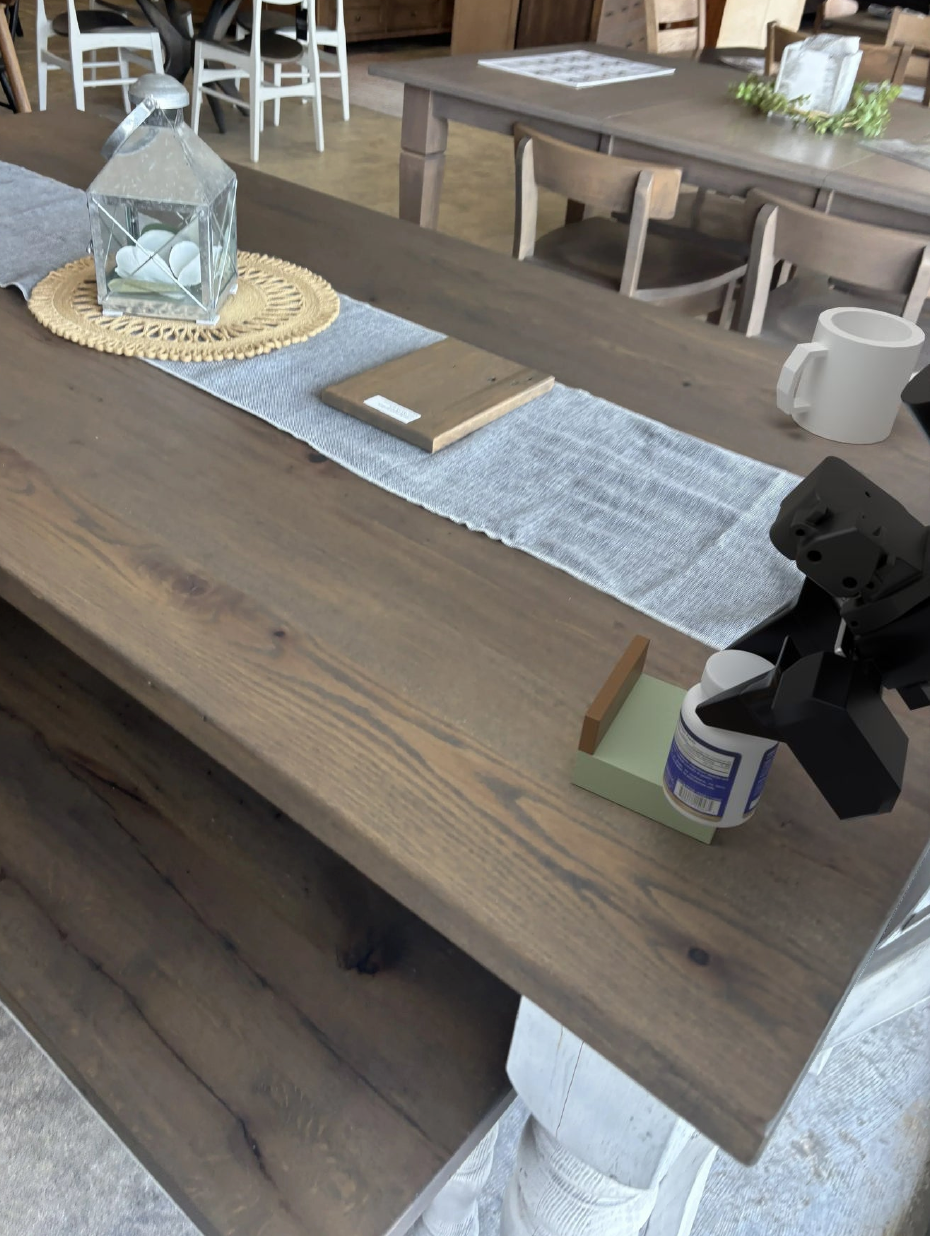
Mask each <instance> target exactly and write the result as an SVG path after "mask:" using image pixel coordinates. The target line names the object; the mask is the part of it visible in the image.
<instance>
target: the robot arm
mask: <svg viewBox="0 0 930 1236" xmlns="http://www.w3.org/2000/svg"><path fill="white" fill-rule="evenodd" d="M901 400H902V402H901V403H902V404H903V405H904V406H905V408H906V410H907V411H908V413H909V414H910V416H911V417H912V419H913V422H914V423H915V424H916V425H917V427H918V429H919V430H920V432H921V434H922V435H923V437H924V438H925V439H926V441H927V443H928V444H929V446H930V363H928V364H927V365H926V366H925V367H924V368H922V369H921V370H920V371H918V372H917V373H916V374H915V375H914V376H913V377H911V378H910V380H909V383H908V384H907V385H906V386H905V388H904V389H903V391H902V393H901ZM779 507H780V508H779V510H778V512H777V515H776V516H775V520H774V521H773V523H772V524H771V526H770V528H769V531H768V535H769V540H770V542H771V544H772V545H773V547H774V548H775V549H776V551H778V552H779V553H780V554H781V555H782V556H783V557H785V559H787V560H789V561H795V566H796V569H797V570H798V571H799V572H801V573H802V574H803V575H805V577H804V580H803V582H802V586H801V588H800V590H799V591H798V592H797V593H796V594H795V595H794V596H792V597H791V598H790V599H789V600H788V601H786V602H785V603H784V604H783V605H781V606H780V607H779V608H778V609H777V610H775V611H773V612H772V613H771V614H770V615H768V616H767V617H765V618H764V619H762V620H761V621H760V622H759V623H757V624H756V625H755V626H753V627H752V628H750V629H749V630H748V631H746V632H745V633H744V634H742V635H741V636H739V637H738V638H737V639H736V640H734V641H733V642H731V643H730V644H729V645H728V646H726V647H725V648H723V649H722V650H721V651H724V650H740V651H745V652H749V653H753V654H755V655H758V656H760V657H762V658H764V659H766V660H767V661H769V662H770V663H772V664H773V665H774V666H775V667H774V668H773V669H771V670H769V671H767V672H765V673H763V674H760V675H758V676H756V677H754V678H752V679H749V680H747V681H745V682H743V683H741V684H738V685H736V686H734V687H732V688H730V689H728V690H725V691H723V692H721V693H719V694H717V695H715V696H713V697H711V698H709V699H707V700H706V701H704V702H702V703H700V704H698V705H697V706H696V709H695V713H696V715H697V716H698V717H699V719H700V720H701V721H702V723H703V724H704V725H706V726H709V727H714V728H719V729H723V730H728V731H733V732H738V733H742V734H747V735H752V736H756V737H761V738H766V739H770V740H774V741H779V743H782V744H783V743H784V744H786V745H787V747H788V748H789V750H790V751H791V753H792V754H793V755H794V757H795V759H796V760H797V761H798V763H799V764H800V765H801V767H802V768H803V770H804V771H805V773H806V775H808V777H809V779H810V780H811V781H812V783H813V784H814V785H815V787H816V788H817V789H818V791H819V792H820V794H821V795H822V796H823V798H824V799H825V801H826V802H827V804H828V805H829V806H830V808H831V809H832V811H833V812H834V813H835V815H836V817H837V818H838V819H839V820H840V821H845V822H846V821H847V822H849V821H850V822H851V821H854V820H859V819H864V818H869V817H875V816H879V815H885V814H889V813H892V812H893V809H894V807H895V805H896V803H897V801H898V799H899V797H900V795H901V793H902V790H903V782H904V775H905V769H906V762H907V755H908V748H909V743H910V742H909V741H910V738H909V737H908V735H907V734H906V732H905V731H904V729H903V727H902V726H901V725H900V723H899V722H898V720H897V719H896V717H895V716H894V714H893V713H892V711H891V709H889V707H888V706H887V704H886V703H885V701H884V700H883V699H884V692H885V688H886V690H888V691H890V690H894V689H895V690H896V691H897V693H898V695H899V696H900V698H901V699H902V701H903V702H904V704H905V706H906V707H907V708H908V710H909V711H914V710H918V709H922V708H926V707H929V706H930V524H929V525H924V524H923V523H922V522H921V521H919V520H918V519H917V518H916V517H915V516H913V515H912V514H911V513H910V512H909V511H908V509H907V508H906V507H905V506H904V505H903V504H902V503H901V502H900V501H899V500H897V499H896V498H895V497H893V496H892V495H891V494H889V493H888V492H887V491H886V490H885V489H883V488H882V487H880V486H878V484H876V483H875V482H874V481H872V480H871V479H869V478H868V477H867V476H866V475H865V474H863V473H861V472H860V471H859V470H857V469H856V468H855V467H853V466H852V465H851V464H849V463H848V462H847V461H845V460H844V459H842V458H840V457H838V456H834V455H828V456H826V457H825V458H824V459H823V460H822V461H821V462H820V463H819V464H818V465H817V466H816V467H814V469H813V470H811V471H810V473H808V474H807V475H806V477H805V478H803V480H802V481H800V482H799V483H798V484H797V486H795V487H794V488H793V489H792V490H791V491H790V492H789V493H788V494H787V495H786V496H785V497H784V498H783V499H782V500H781V502H780V503H779Z"/></svg>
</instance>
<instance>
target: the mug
mask: <svg viewBox="0 0 930 1236" xmlns="http://www.w3.org/2000/svg"><path fill="white" fill-rule="evenodd" d="M925 339H926V334H925V333H924V331H923V330H922V328H921V327H920V326H918V325H916V324H915V323H914V322H912V321H910V320H908V319H907V318H906V319H905V318H903V317H901V316H900V315H899V316H898V315H896V314H893V313H889V312H886V311H881V310H876V309H873V308H872V309H871V308H864V307H856V306H855V307H854V306H843V307H842V306H840V307H838V306H837V307H833V308H829V309H826V310H824V311H822V312H820V314H819V316H818V319H817V322H816V326H815V329H814V332H813V335H812V339H811V342H805V343H797V345H796V346H795V347H794V349H793V350H792V352H791V353H790V355H789V356H788V358H787V359H786V360H785V362H784V363H783V365H782V367H781V371H780V374H779V377H778V381H777V383H776V407H777V408H778V409H779V410H781V411H782V412H783V413H785V414H786V415H791V418H792V420H793V421H794V422H795V423H796V424H797V425H798V426H799V427H800V428H802V429H804V430H805V431H807V432H809V433H810V434H813V435H815V436H818V437H821V438H823V439H826V440H830V441H834V442H838V443H842V444H851V445H873V444H876V443H880V442H883V441H884V440H887V438H888V437H889V436H890V434H891V432H892V429H893V426H894V424H895V421H896V419H897V415H898V414H899V413H898V412H899V410H900V407H901V404H902V403H903V402H902V400H901V393H902V391H903V389H904V388H905V386H906V385H907V384H908V383H909V381H910V380H911V379H912V375H913V373H914V370H915V366H916V364H917V361H918V359H919V356H920V353H921V350H922V348H923V345H924V343H925ZM800 375H801V376H800ZM798 382H799V384H798ZM797 385H798V386H797ZM795 391H796V393H795Z"/></svg>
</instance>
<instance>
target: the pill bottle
mask: <svg viewBox="0 0 930 1236" xmlns="http://www.w3.org/2000/svg"><path fill="white" fill-rule="evenodd" d="M723 650H724V649H723ZM774 667H775V666H774V665H773V664H772V663H770V662H769V661H767V660H766V659H764V658H762V657H760V656H758V655H755V654H753V653H749V652H745V651H740V650H724V651H722V650H721V651H717V652H715V653H713V654H712V655H710V656H709V657H708V659H707V661H706V663H705V666H704V669H703V672H702V675H701V677H700V678H701V679H700V682H698V683H696V684H695V685H693V686H692V687H690V689H689V690H687V691H688V692H687V694H686V696H685V698H684V700H683V703H682V706H681V710H680V713H679V717H678V721H677V724H676V728H675V733H674V736H673V740H672V744H671V747H670V751H669V755H668V758H667V762H666V766H665V769H664V773H663V778H662V786H663V791H664V794H665V796H666V798H667V799H668V801H669V802H670V804H671V805H672V806H673V807H674V808H675V809H676V810H677V811H678V812H680V813H681V814H682V815H684V816H685V817H687V818H689V819H691V820H692V821H695V822H697V823H700V824H703V825H707V826H712V827H717V828H721V829H722V828H732V827H737V826H739V825H742V824H744V823H746V822H747V821H748V820H749V819H751V817H752V816H753V815H754V814H755V812H756V809H757V807H758V804H759V802H760V799H761V796H762V793H763V790H764V788H765V784H766V781H767V778H768V776H769V772H770V770H771V767H772V764H773V761H774V758H775V756H776V753H777V750H778V747H779V744H780V742H779V741H774V740H770V739H766V738H761V737H756V736H752V735H747V734H742V733H738V732H733V731H728V730H723V729H719V728H714V727H709V726H706V725H704V724H703V723H702V721H701V720H700V719H699V717H698V716H697V715H696V713H695V709H696V706H697V705H698V704H700V703H702V702H704V701H706V700H707V699H709V698H711V697H713V696H715V695H717V694H719V693H721V692H723V691H725V690H728V689H730V688H732V687H734V686H736V685H738V684H741V683H743V682H745V681H747V680H749V679H752V678H754V677H756V676H758V675H760V674H763V673H765V672H767V671H769V670H771V669H773V668H774Z"/></svg>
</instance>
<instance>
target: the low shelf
mask: <svg viewBox="0 0 930 1236" xmlns="http://www.w3.org/2000/svg"><path fill="white" fill-rule="evenodd" d="M650 644H651V639H650V638H648V637H646V636H643V635H640V634H638V633H636V634H635V635H634V637H633V638H632V640H631V641H630V643H629V645H628V646H627V648H626V649H625V651H624V653H623V654H622V655H621V657H620V659H619V660H618V662H617V663H616V665H615V666H614V668H613V669H612V672H611V673H610V675H609V676H608V678H607V679H606V680H605V682H604V684H603V685H602V687H601V689H600V690H599V691H598V693H597V695H596V696H595V698H594V700H593V701H592V703H591V704H590V706H589V707H588V709H587V711H586V713H584V717H583V721H582V727H581V732H580V736H579V741H578V746H577V751H576V756H575V760H574V765H573V769H572V775H571V780H570V783H571V784H573V785H575V786H578V787H579V788H582V789H583V790H587V791H588V792H591V793H593V794H595V795H597V796H599V797H602V798H603V799H606V800H608V801H610V802H613V803H615V804H616V805H617V804H618V805H619V806H622V807H625V808H626V809H628V810H630V811H633V812H635V813H638V814H640V815H642V816H644V817H646V818H649V819H650V820H653V821H655V822H658V823H660V824H662V825H664V826H666V827H669V828H671V829H673V830H675V831H678V832H680V833H682V834H683V835H686V836H688V837H691V838H693V839H695V840H697V841H699V842H701V843H704V844H706V845H710V844H711V842H712V840H713V837H714V835H715V832H716V830H717V828H718V827H712V826H707V825H703V824H700V823H697V822H695V821H692V820H691V819H689V818H687V817H685V816H684V815H682V814H681V813H680V812H678V811H677V810H676V809H675V808H674V807H673V806H672V805H671V804H670V802H669V801H668V799H667V798H666V796H665V794H664V791H663V786H662V778H663V773H664V769H665V766H666V762H667V758H668V755H669V751H670V747H671V744H672V740H673V736H674V733H675V728H676V724H677V721H678V717H679V713H680V710H681V706H682V703H683V700H684V698H685V696H686V694H687V692H688V691H689V690H686V689H684V688H682V687H679V686H676V685H673V684H672V683H669V682H666V681H663V680H661V679H658V678H655V677H653V676H651V675H648V674H646V673H644V672H643V670H644V667H645V664H646V663H645V662H646V659H647V655H648V650H649V646H650Z"/></svg>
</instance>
